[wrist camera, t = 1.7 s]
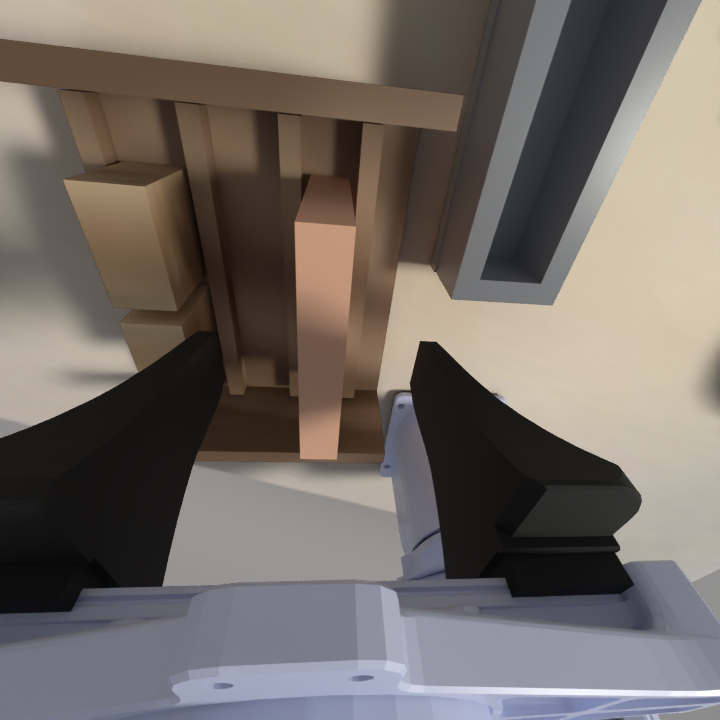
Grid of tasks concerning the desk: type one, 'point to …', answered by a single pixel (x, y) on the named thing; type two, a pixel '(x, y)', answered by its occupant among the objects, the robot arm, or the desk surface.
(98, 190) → the offcut
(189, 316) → the offcut
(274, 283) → the rack
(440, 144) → the desk surface
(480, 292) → the holder
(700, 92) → the desk surface
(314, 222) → the salmon rectangular block
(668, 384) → the desk surface
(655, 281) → the desk surface
